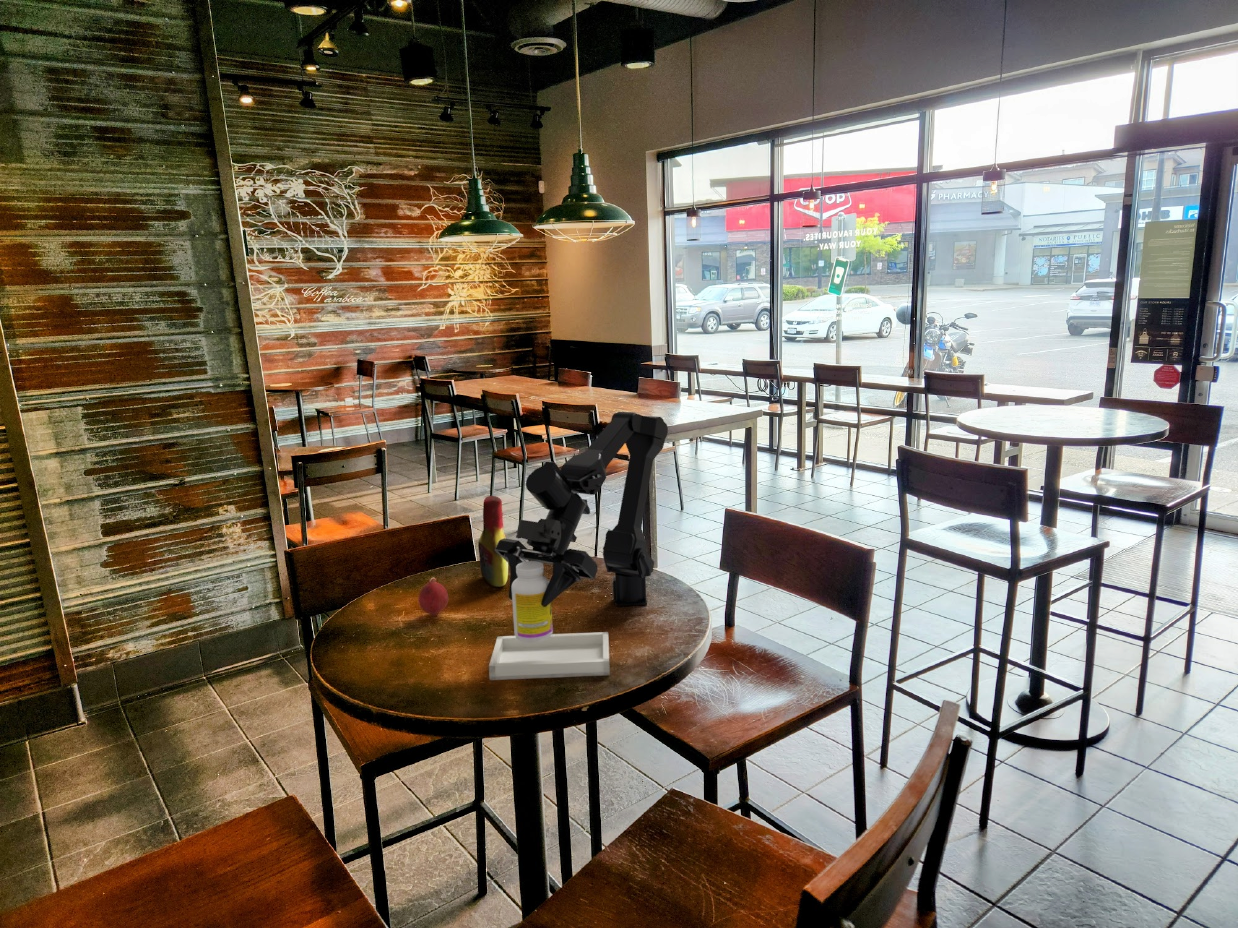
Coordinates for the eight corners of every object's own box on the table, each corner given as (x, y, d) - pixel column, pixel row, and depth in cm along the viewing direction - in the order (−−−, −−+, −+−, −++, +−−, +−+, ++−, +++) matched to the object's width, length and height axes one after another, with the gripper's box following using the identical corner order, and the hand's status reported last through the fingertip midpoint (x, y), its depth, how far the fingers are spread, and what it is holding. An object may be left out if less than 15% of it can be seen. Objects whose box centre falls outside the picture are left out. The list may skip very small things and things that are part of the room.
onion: (434, 623, 155) (431, 584, 154) (414, 617, 158) (410, 580, 157) (455, 613, 160) (452, 575, 159) (435, 608, 163) (431, 571, 162)
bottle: (514, 588, 173) (509, 500, 169) (485, 592, 172) (479, 503, 168) (505, 571, 185) (500, 489, 181) (478, 575, 183) (472, 491, 179)
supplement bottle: (558, 639, 134) (554, 567, 132) (521, 647, 132) (516, 574, 129) (545, 625, 140) (542, 556, 138) (509, 632, 138) (505, 562, 135)
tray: (608, 644, 143) (608, 631, 142) (609, 674, 131) (609, 661, 131) (498, 649, 142) (497, 636, 142) (489, 680, 131) (488, 666, 130)
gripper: (497, 494, 139) (459, 573, 132) (585, 505, 130) (549, 590, 123) (527, 525, 147) (493, 601, 141) (612, 538, 138) (580, 619, 131)
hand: (526, 602), depth 133 cm, fingers closed on supplement bottle, 7 cm apart
